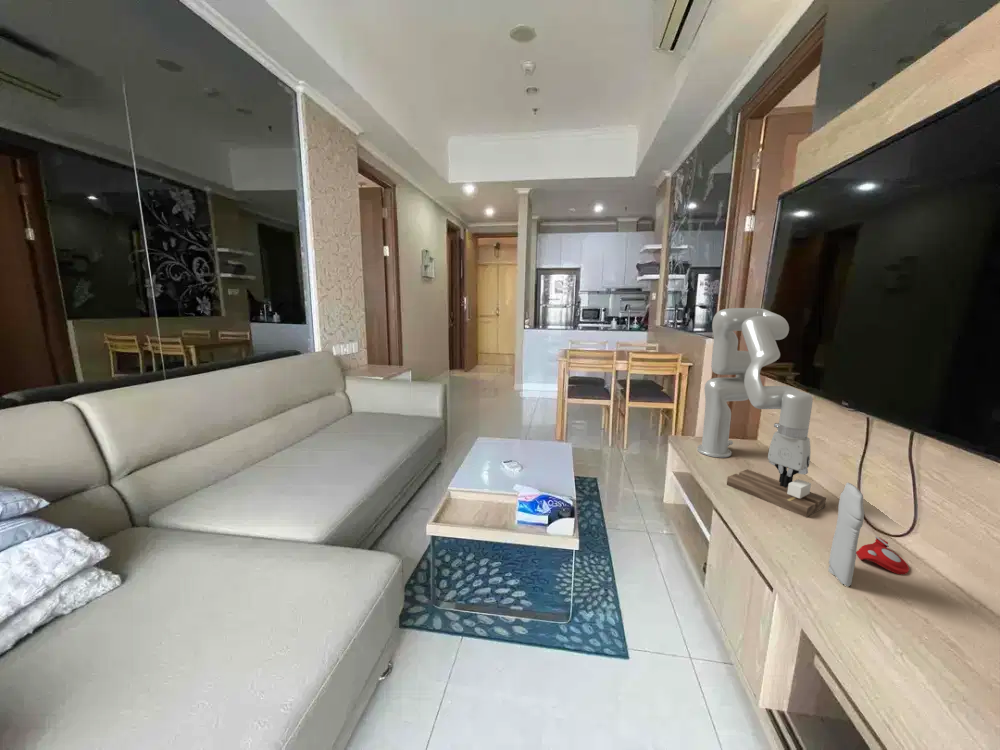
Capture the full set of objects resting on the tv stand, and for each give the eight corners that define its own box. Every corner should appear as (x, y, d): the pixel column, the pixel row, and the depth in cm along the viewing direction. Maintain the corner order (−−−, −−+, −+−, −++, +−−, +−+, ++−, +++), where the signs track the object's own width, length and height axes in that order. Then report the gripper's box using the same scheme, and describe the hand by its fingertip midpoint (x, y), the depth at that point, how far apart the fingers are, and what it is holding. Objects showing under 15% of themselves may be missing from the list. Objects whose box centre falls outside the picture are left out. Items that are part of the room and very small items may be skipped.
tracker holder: (923, 574, 94) (878, 561, 94) (910, 586, 96) (867, 574, 96) (888, 534, 104) (848, 523, 105) (877, 545, 106) (838, 534, 107)
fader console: (746, 477, 145) (747, 469, 145) (825, 506, 125) (826, 497, 124) (726, 484, 139) (727, 476, 139) (806, 517, 119) (807, 507, 118)
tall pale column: (821, 558, 101) (835, 476, 96) (841, 562, 99) (856, 479, 95) (836, 585, 91) (852, 496, 87) (859, 590, 90) (877, 500, 85)
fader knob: (796, 494, 129) (798, 478, 128) (808, 499, 126) (811, 483, 125) (786, 499, 126) (788, 483, 125) (798, 504, 123) (801, 487, 122)
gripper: (760, 426, 130) (754, 479, 133) (814, 440, 117) (805, 498, 121) (773, 422, 133) (766, 474, 137) (827, 436, 121) (818, 492, 124)
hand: (785, 485), depth 129 cm, fingers closed
